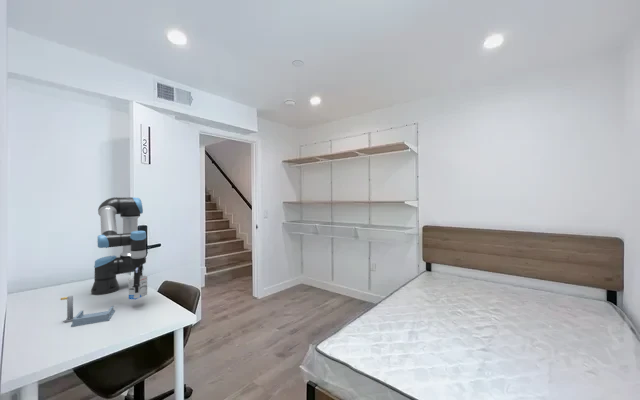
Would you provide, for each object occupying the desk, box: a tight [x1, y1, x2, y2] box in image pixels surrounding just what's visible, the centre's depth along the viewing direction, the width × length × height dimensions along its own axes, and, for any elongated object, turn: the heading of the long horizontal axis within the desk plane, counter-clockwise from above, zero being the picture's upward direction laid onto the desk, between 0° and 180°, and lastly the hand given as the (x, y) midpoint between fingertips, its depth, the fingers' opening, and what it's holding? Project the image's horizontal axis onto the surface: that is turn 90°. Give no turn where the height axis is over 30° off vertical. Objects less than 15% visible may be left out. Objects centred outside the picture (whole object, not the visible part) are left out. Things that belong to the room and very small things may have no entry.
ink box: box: [128, 274, 148, 300], centre depth 157 cm, size 9×5×12 cm, turn 168°
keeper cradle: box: [60, 295, 116, 328], centre depth 138 cm, size 13×22×12 cm, turn 117°
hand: (138, 295), depth 157 cm, fingers closed on ink box, 9 cm apart
